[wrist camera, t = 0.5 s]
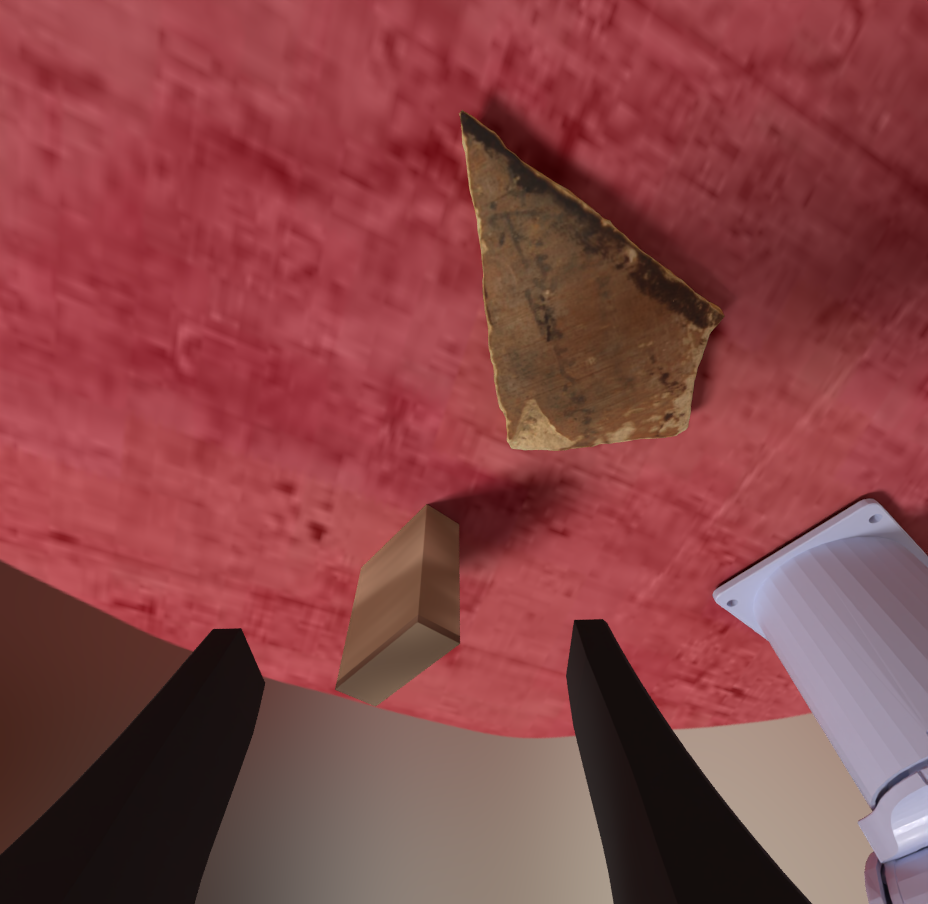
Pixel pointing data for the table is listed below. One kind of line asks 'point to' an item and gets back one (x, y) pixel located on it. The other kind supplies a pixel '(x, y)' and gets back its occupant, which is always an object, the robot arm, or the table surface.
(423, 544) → the oak slab
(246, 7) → the table surface
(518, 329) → the shard
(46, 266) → the table surface
